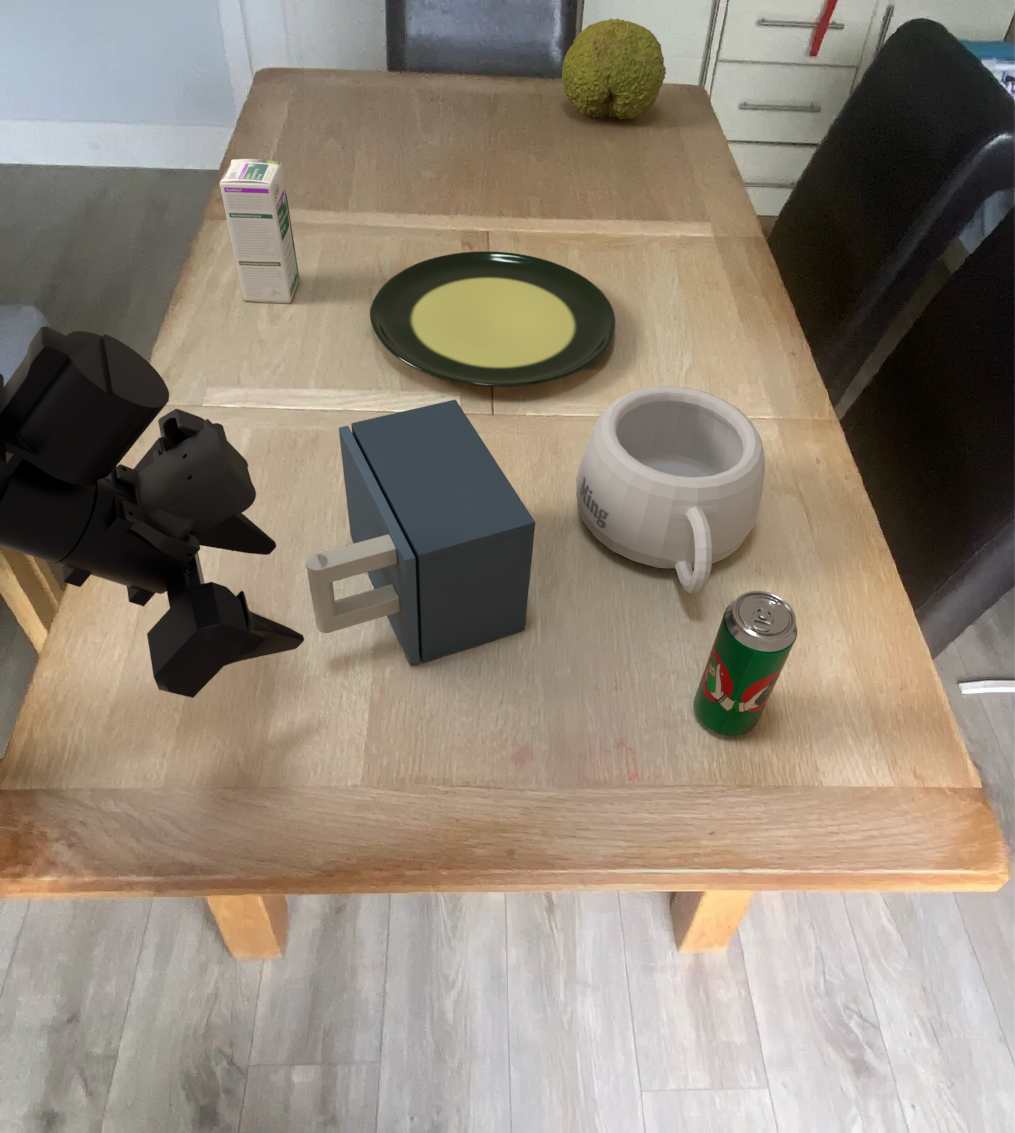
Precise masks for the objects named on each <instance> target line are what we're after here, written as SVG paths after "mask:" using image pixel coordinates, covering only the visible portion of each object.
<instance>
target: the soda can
mask: <svg viewBox="0 0 1015 1133" xmlns="http://www.w3.org/2000/svg"><path fill="white" fill-rule="evenodd" d="M796 617H797V616H796V614H795V611H794V610H793V607H792V606H791V605H790V604H789V603H788V602H787V601H786V600H784V599H783V598H782V597H780V596H779V595H776V594H774V593H772V592H768V591H764V590H749V591H746V592H744V593H741V594H740V595H739V596H738V597H737V598H736V599H734V600H733V601H732V602H730V603H729V605H727V607H726V608H725V610H724V612H723V615H722V618H721V621H720V624H719V627H718V629H717V632H716V636H715V638H714V641H713V643H712V646H711V650H710V652H709V655H708V658H707V661H706V664H705V666H704V669H703V672H702V676H701V678H700V681H699V684H698V687H697V689H696V693H695V695H694V698H693V709H694V713H695V714H696V717H697V718H698V720H699V721H700V722H701V723H702V724H703V725H704V726H705V728H707V729H709V731H711V732H713V733H716V734H719V735H720V736H725V737H741V736H745V735H747V734H749V733H750V732H751V731H753V730H754V729H755V728H756V726H758V723H759V721H760V719H761V716H762V715H763V712H764V710H765V708H766V706H767V703H768V702H769V700H770V697H771V694H772V692H773V691H774V688H775V686H776V684H777V681H778V680H779V677H780V675H781V673H782V671H783V669H784V667H785V665H786V662H787V659H788V657H789V655H790V653H791V651H792V649H793V647H794V645H795V642H796V640H797V637H798V627H797V618H796Z"/></svg>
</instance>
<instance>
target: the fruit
mask: <svg viewBox="0 0 1015 1133" xmlns="http://www.w3.org/2000/svg"><path fill="white" fill-rule="evenodd" d="M664 60H665V57H664V55H663V51H662V44H661V43H660V42H659V41H658V39H657V36H655V34H654V33H653V32H652V31H651V30H650V29H647V27H645V26H643V25H641V24H638V23H634V22H633V21H629V20H625V19H620V18H618V17H617V18H615V19H614V18H610V19H605V20H600V21H597V22H595V23H593V24H589V25H588V26H586V27H585V28H584V29H583V30H581V31H580V32H579V33H578V35H577V36H575V38H574V39H573V41H572V44H571V45H570V46H569V48H568V50H567V51H566V54H565V56H564V58H563V62H562V67H561V69H562V71H561V81H562V83H563V87H564V91H563V93H564V94H565V96H566V97H567V100H568V101H569V103H570V104H571V106H572V107H573V108H575V110H576V111H577V112H578V113H580V114H581V115H585V116H588V117H590V118H594V119H595V118H596V119H602V118H605V117H613V118H618V119H619V121H620V120H628V119H629V120H630V119H631V120H636V119H637V118H639V117H641V116H643V115H646V114H647V111H648V110H650V109H651V107H652V106H653V105H654V104H655V103H656V101H657V98H658V96H659V93H660V90H661V88H662V87H663V84H664V80H665V79H666V74H667V72H666V70H667V67H665V64H664V63H665V61H664Z"/></svg>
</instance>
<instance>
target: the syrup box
mask: <svg viewBox="0 0 1015 1133" xmlns="http://www.w3.org/2000/svg"><path fill="white" fill-rule="evenodd" d="M284 174H285V173H284V167H283V163H282V162H281V161H278V160H271V159H263V158H262V159H261V158H238V159H233V158H232V159H231V161H230V163H229V166H228V167H227V168H226V170H225V172H224V173H223V175H222V177H221V180H220V181H219V184H218V185H219V187H220V191H221V197H222V203H223V207H224V212H225V216H226V217H225V218H226V221H227V228H228V232H229V236H230V241H231V248H232V251H233V256H234V261H235V265H236V270H237V276H238V281H239V284H240V290H241V294H242V299H243V301H245V302H252V303H267V304H291V303H292V300H293V298H294V295H295V292H296V290H297V286H298V284H299V280H300V273H299V266H298V260H297V253H296V247H295V241H294V233H293V226H292V220H291V213H290V208H289V202H288V194H287V187H286V182H285V181H286V180H285V175H284Z"/></svg>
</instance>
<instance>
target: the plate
mask: <svg viewBox="0 0 1015 1133" xmlns="http://www.w3.org/2000/svg"><path fill="white" fill-rule="evenodd" d="M369 319H370V323H371V327H372V329H373V332H374V333H375V336H376V337H377V339H378V340H379V342H380V343H381V344H382V345H383V346H384V348H385V349H387V351H388V352H390V354H391V355H393V356H394V357H396V358H397V359H398V360H400V361H401V362H403V363H405V364H406V365H408V366H410V367H412V368H413V369H416V370H418V371H420V372H423V373H425V374H427V375H430V376H433V377H435V378H438V379H441V380H445V381H448V382H452V383H458V384H461V385H462V384H463V385H469V386H475V387H487V388H517V387H527V386H534V385H540V384H544V383H549V382H552V381H557V380H560V379H564V378H566V377H569V376H572V375H574V374H576V373H579V372H580V371H582V370H584V369H586V368H587V367H590V366H591V365H592V364H593V363H595V362H596V361H597V360H598V359H600V358H601V357H602V356H603V354H605V353H606V351H607V350H608V348H609V347H610V346H611V344H612V341H613V339H614V335H615V331H616V314H615V310H614V308H613V305H612V304H611V302H610V300H609V299H608V298H607V296H606V295H605V294H604V292H602V290H601V289H600V288H599V287H598V286H597V285H595V284H594V283H593V282H592V281H590V280H589V279H588V278H587V277H585V276H584V275H581V274H580V273H578V272H576V271H574V270H572V269H570V268H569V267H566V266H563V265H561V264H559V263H556V262H553V261H550V260H547V259H544V258H541V257H536V256H531V255H527V254H521V253H514V252H505V251H491V250H490V251H487V250H486V251H485V250H484V251H483V250H482V251H466V252H456V253H449V254H445V255H439V256H436V257H432V258H428V259H426V260H422V261H420V262H418V263H415V264H412V265H410V266H409V267H406V268H405V269H402V270H401V271H399V272H398V273H396V274H395V275H394V276H392V277H391V278H390V279H387V281H386V282H385V283H384V284H383V285H382V287H380V289H379V290H378V291H377V293H376V295H374V298H373V300H372V303H371V305H370V309H369Z"/></svg>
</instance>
